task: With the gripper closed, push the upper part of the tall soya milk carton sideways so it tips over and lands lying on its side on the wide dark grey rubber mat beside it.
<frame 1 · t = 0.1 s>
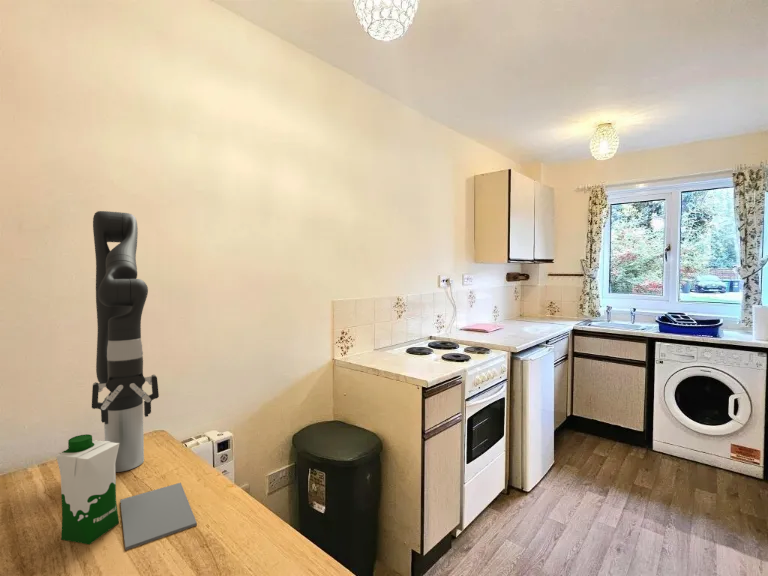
hand: (126, 419, 100), 17 cm above the table, tool pointing down, fingers open, 8 cm apart
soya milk: (91, 532, 83), on the table
mat: (156, 513, 89), on the table
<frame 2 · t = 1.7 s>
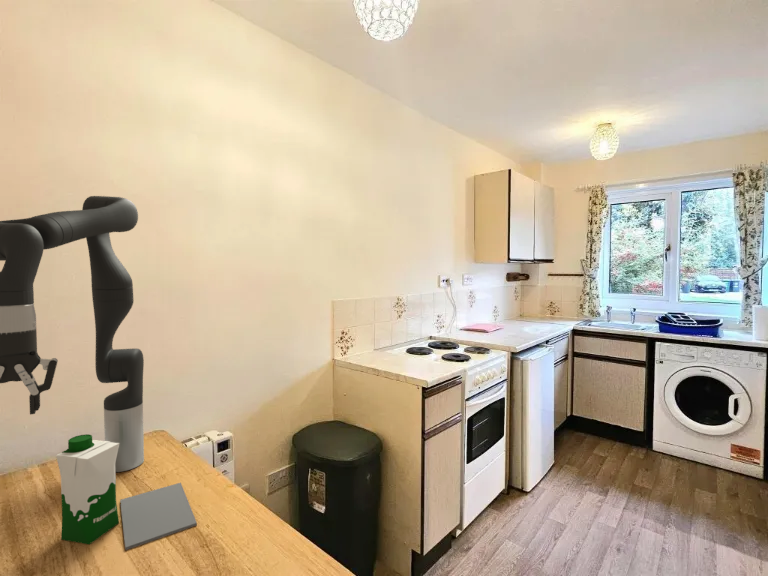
hand: (12, 415, 75), 27 cm above the table, tool pointing down, fingers open, 5 cm apart
nothing on the table moved.
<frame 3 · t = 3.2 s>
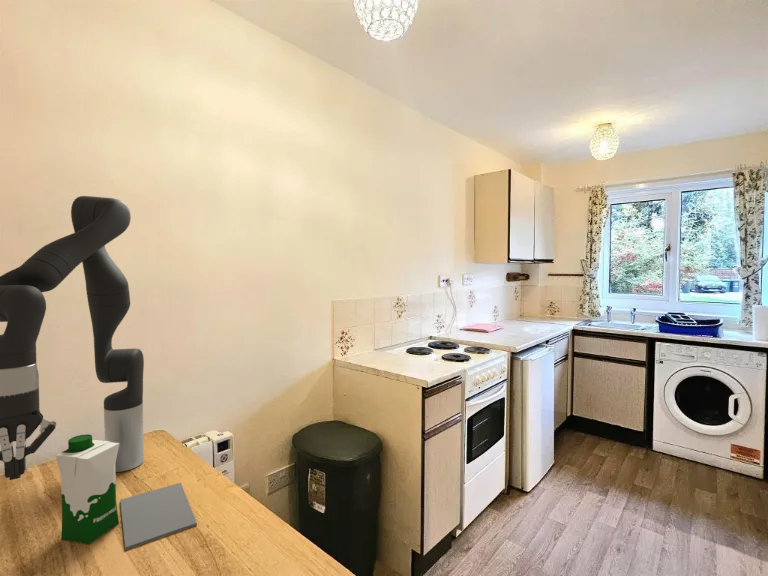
hand: (15, 477, 75), 15 cm above the table, tool pointing down, fingers closed
nothing on the table moved.
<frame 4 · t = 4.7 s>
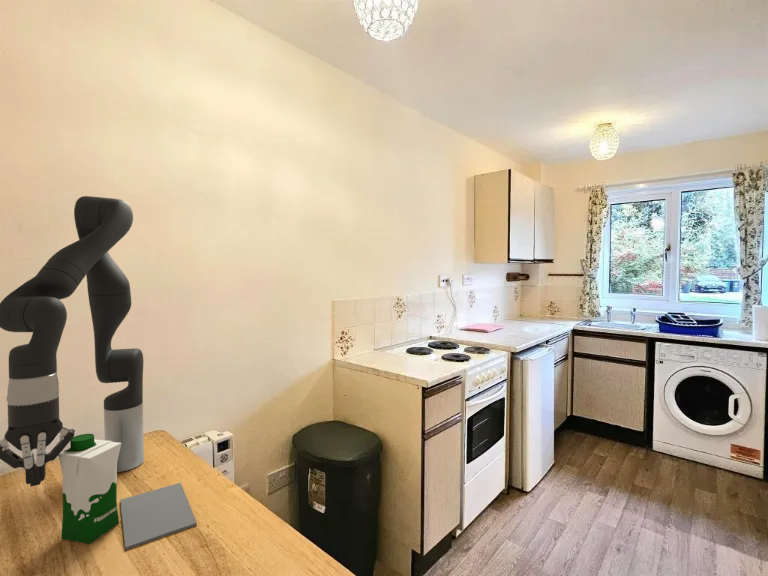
hand: (35, 483, 77), 13 cm above the table, tool pointing down, fingers closed
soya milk: (91, 532, 83), on the table, touching hand
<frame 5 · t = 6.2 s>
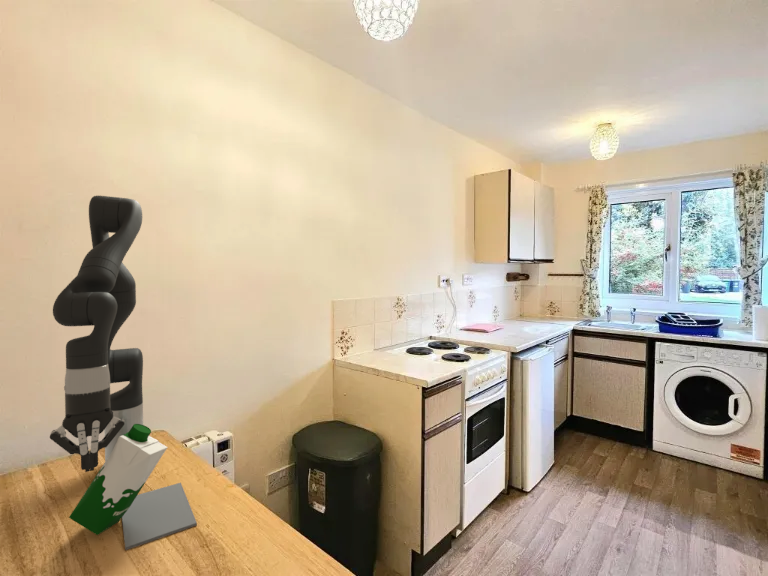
hand: (89, 469, 82), 14 cm above the table, tool pointing down, fingers closed
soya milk: (94, 521, 83), point 2 cm above the table
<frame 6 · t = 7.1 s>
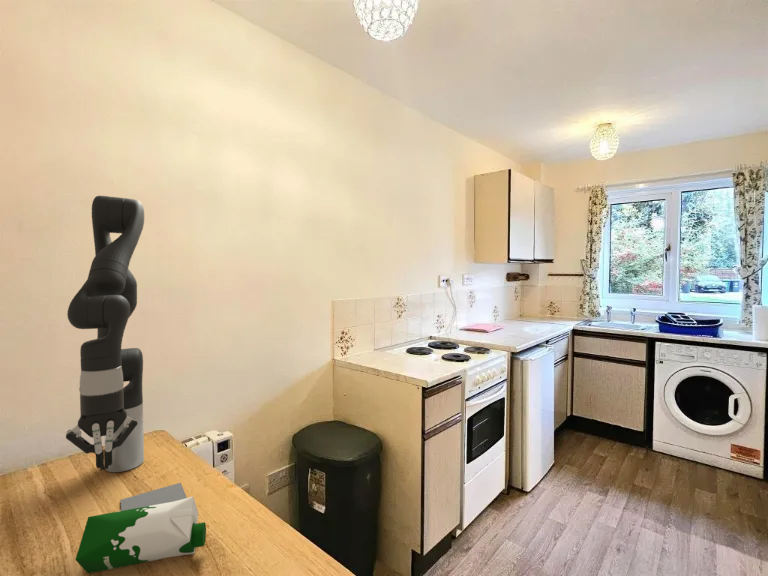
hand: (104, 468, 84), 13 cm above the table, tool pointing down, fingers closed
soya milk: (86, 545, 72), point 5 cm above the table
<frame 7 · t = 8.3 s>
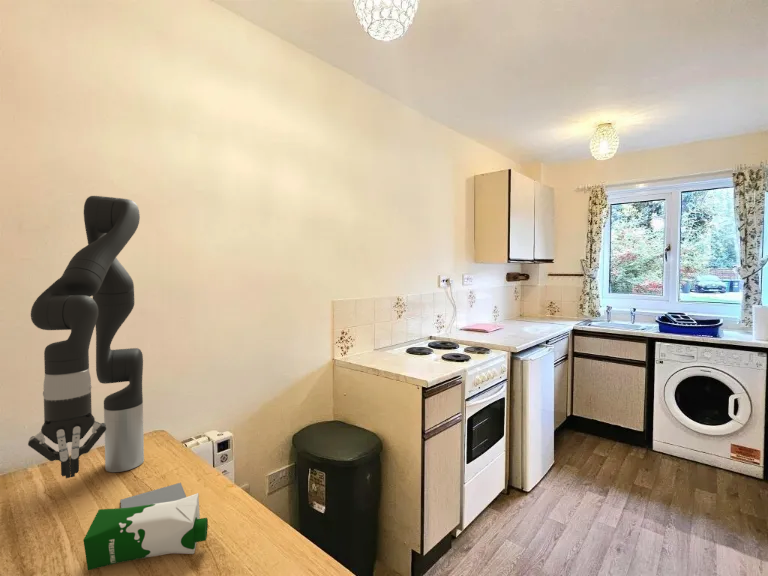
hand: (70, 476, 80), 13 cm above the table, tool pointing down, fingers closed
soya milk: (92, 539, 74), point 5 cm above the table, touching mat
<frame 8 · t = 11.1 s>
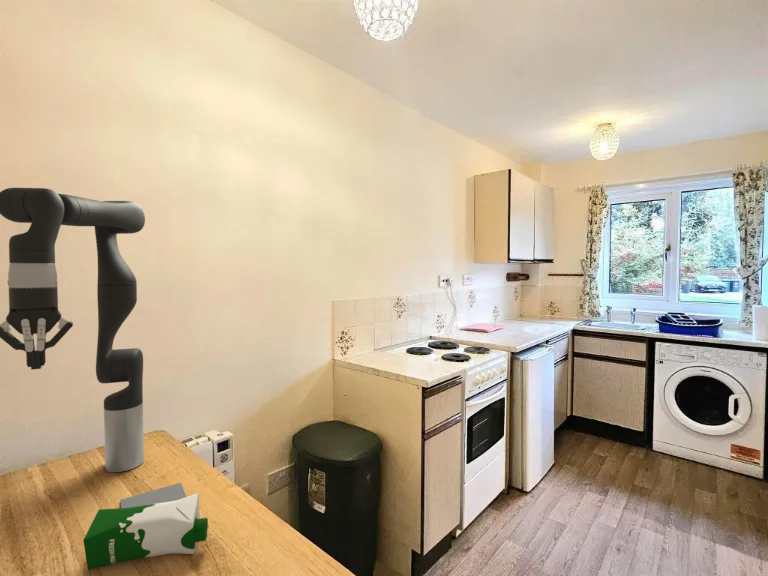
hand: (36, 368, 81), 35 cm above the table, tool pointing down, fingers closed
nothing on the table moved.
at the end: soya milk tilted 90°; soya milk touching mat, table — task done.
